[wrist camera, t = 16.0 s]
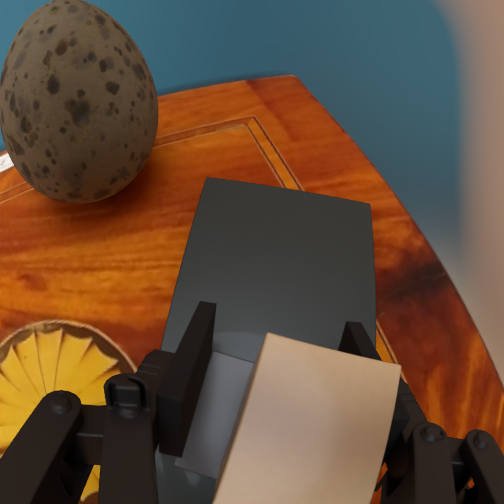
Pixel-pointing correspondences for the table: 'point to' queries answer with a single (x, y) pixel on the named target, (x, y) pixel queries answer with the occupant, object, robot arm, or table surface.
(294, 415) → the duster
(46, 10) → the decorative egg
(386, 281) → the table surface
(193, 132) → the table surface
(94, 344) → the table surface
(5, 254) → the table surface
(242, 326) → the board
